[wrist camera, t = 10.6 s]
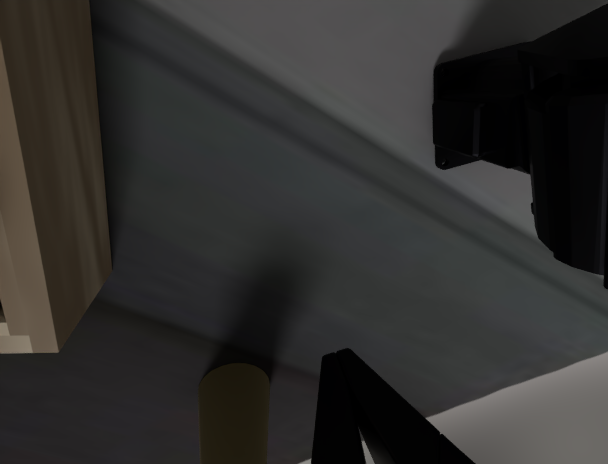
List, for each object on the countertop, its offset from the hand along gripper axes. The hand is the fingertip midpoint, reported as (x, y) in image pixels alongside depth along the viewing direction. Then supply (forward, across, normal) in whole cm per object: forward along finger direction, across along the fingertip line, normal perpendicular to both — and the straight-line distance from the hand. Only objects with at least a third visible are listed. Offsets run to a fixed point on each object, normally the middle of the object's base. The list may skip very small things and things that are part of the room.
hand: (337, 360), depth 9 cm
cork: (+13, +8, +15) cm, 22 cm away
